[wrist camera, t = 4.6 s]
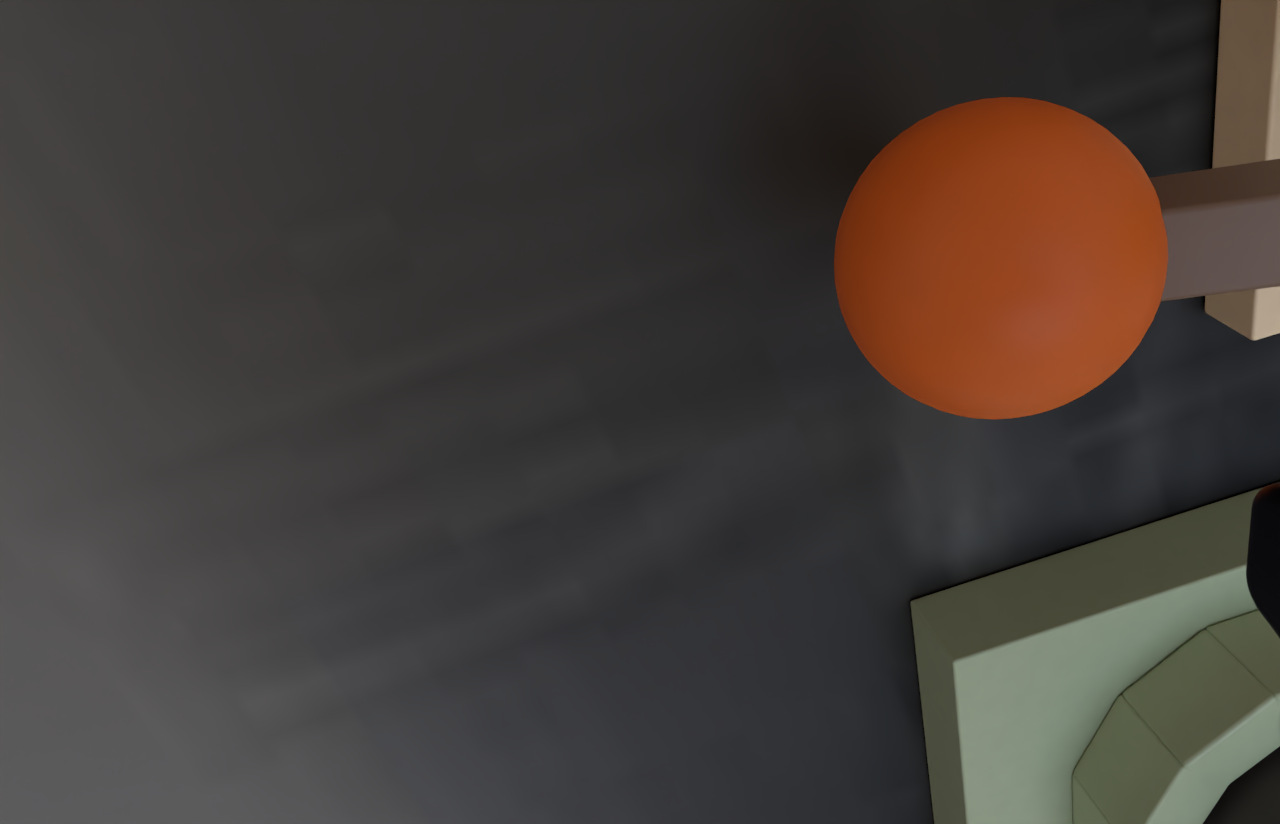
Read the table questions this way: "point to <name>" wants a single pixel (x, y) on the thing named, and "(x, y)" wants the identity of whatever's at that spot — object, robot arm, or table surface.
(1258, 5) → the beige pivot stand
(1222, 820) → the power button
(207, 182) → the table surface
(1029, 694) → the plug block
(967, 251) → the switch lever
